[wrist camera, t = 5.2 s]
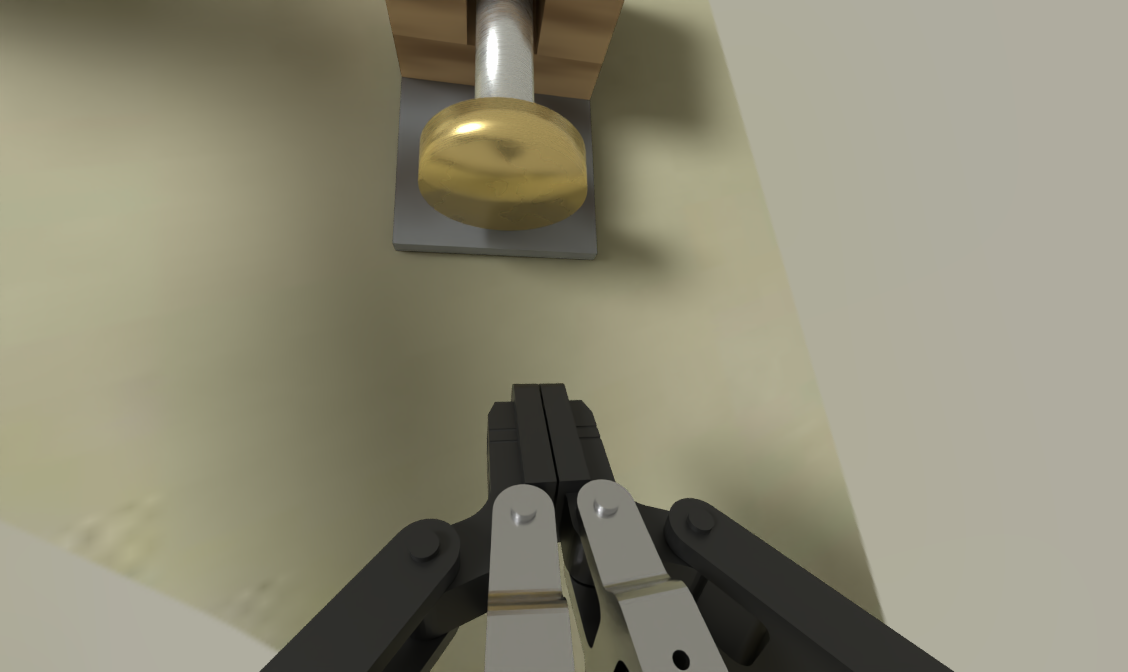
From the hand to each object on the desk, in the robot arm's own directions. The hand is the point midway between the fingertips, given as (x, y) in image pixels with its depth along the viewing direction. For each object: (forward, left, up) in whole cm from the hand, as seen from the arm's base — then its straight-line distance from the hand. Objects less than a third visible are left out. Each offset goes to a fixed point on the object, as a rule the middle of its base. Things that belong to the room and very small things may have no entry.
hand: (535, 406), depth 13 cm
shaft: (+12, +15, -10) cm, 21 cm away
